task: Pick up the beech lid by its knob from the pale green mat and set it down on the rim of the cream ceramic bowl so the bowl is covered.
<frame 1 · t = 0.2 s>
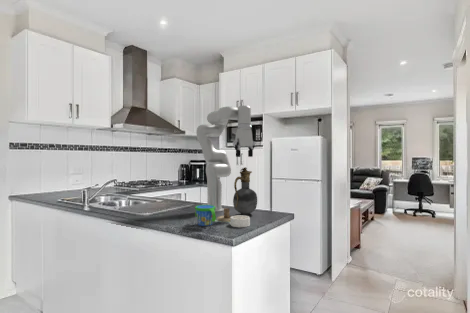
hand: (244, 156, 170), 36 cm above the counter, tool pointing down, fingers open, 9 cm apart
pitcher: (243, 216, 179), on the counter
lid: (226, 219, 167), point 1 cm above the counter, touching mat
bowl: (240, 225, 155), on the counter
snack cup: (205, 225, 156), on the counter
mat: (226, 220, 167), on the counter
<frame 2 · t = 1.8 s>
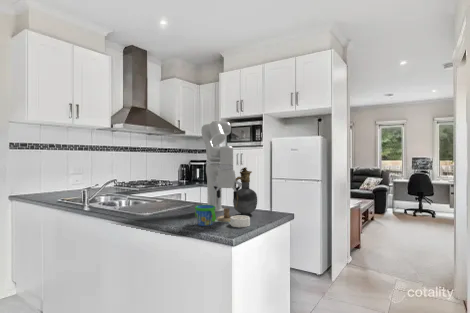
hand: (226, 198, 166), 13 cm above the counter, tool pointing down, fingers open, 9 cm apart
nothing on the counter moved.
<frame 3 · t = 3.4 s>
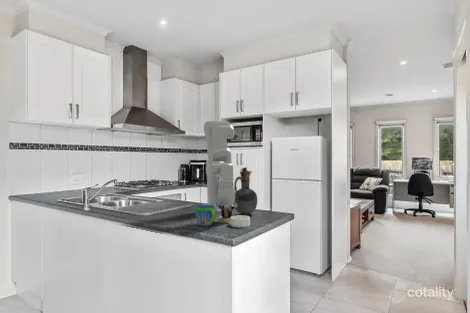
hand: (226, 217, 167), 2 cm above the counter, tool pointing down, fingers closed on lid, 3 cm apart
lid: (226, 219, 167), point 1 cm above the counter, touching gripper, mat
everything else where it was.
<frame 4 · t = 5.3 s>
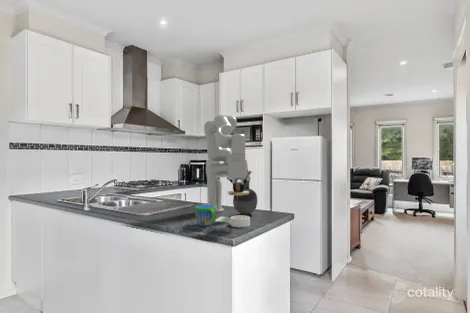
hand: (238, 191, 156), 18 cm above the counter, tool pointing down, fingers closed on lid, 3 cm apart
lid: (238, 194, 156), point 17 cm above the counter, touching gripper
everything else where it was.
when the fingers open (7 cm above the counter, at t = 7.5 s): lid drops 1 cm, resting on bowl.
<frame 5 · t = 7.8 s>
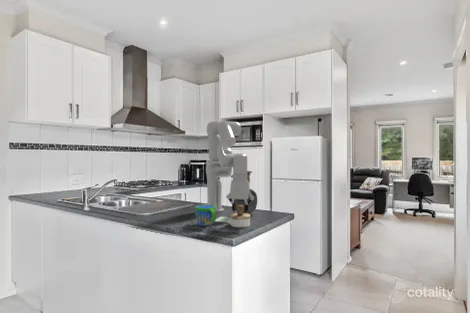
hand: (240, 211, 155), 8 cm above the counter, tool pointing down, fingers open, 6 cm apart
lid: (240, 217, 155), point 4 cm above the counter, touching bowl
bowl: (240, 225, 155), on the counter, touching lid
everything else where it was.
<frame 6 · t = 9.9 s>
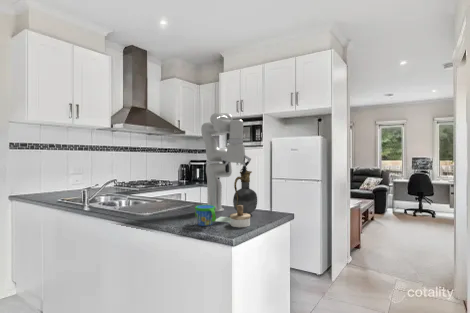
hand: (235, 172, 163), 28 cm above the counter, tool pointing down, fingers open, 9 cm apart
nothing on the counter moved.
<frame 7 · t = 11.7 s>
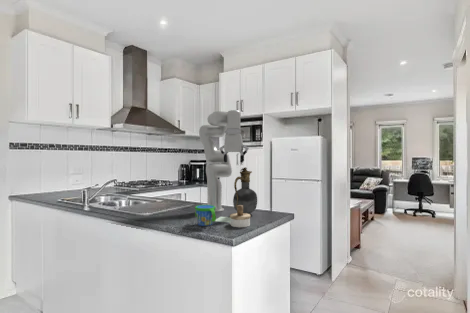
hand: (233, 162, 167), 33 cm above the counter, tool pointing down, fingers open, 9 cm apart
nothing on the counter moved.
at the end: lid 0.0 cm off-centre on the bowl, point 4.5 cm above the bowl's base; lid tilted 0°; the gripper is holding nothing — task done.
